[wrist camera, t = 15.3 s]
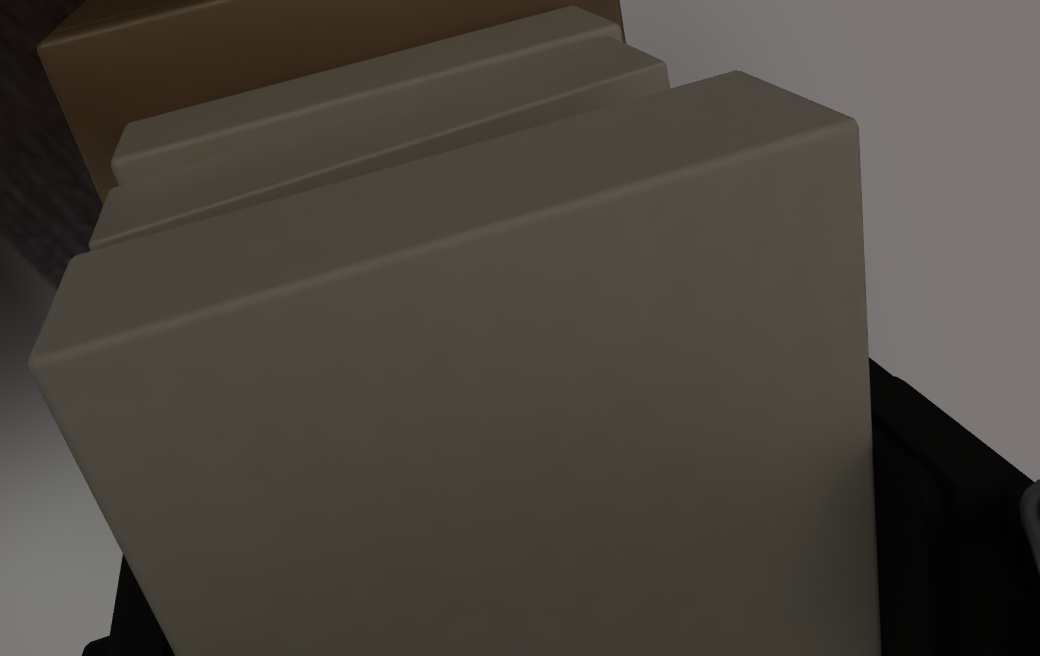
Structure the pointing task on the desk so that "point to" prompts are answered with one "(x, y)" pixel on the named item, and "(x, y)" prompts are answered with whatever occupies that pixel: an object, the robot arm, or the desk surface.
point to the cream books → (367, 119)
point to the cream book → (500, 397)
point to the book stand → (235, 51)
